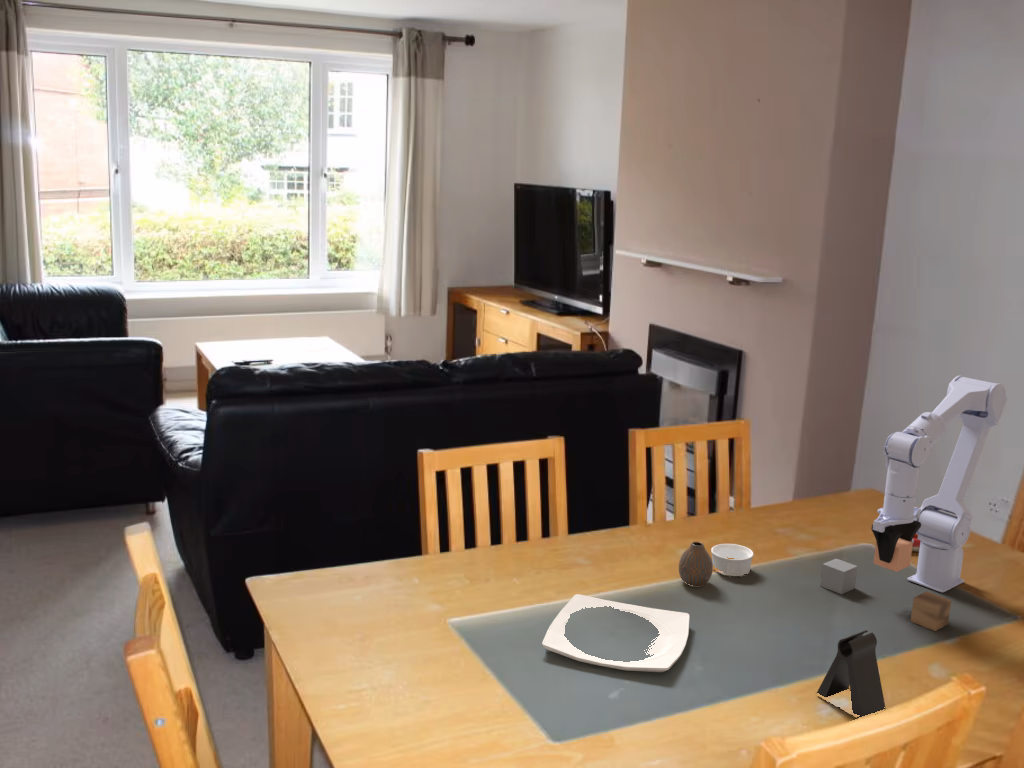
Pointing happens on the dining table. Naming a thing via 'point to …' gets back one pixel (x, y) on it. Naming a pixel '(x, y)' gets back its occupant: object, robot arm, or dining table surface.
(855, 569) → the slate block
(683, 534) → the dining table surface
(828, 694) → the phone stand
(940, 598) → the walnut block
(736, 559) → the ramekin
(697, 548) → the vase
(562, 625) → the plate
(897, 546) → the terracotta block
